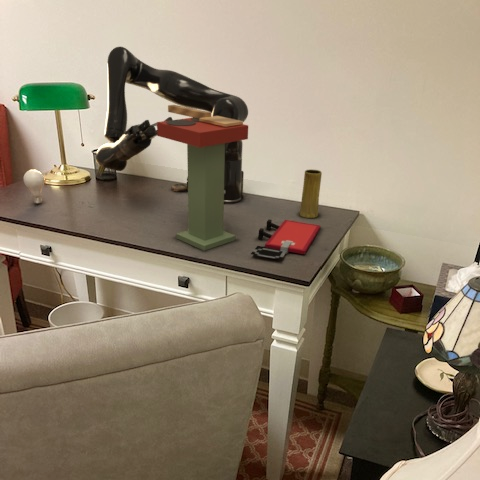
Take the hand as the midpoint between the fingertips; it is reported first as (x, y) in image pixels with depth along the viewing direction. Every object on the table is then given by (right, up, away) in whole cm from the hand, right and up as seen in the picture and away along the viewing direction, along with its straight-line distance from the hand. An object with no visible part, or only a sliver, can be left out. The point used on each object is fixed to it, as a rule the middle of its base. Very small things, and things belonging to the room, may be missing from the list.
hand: (160, 121), depth 156 cm
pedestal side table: (+13, -34, -3) cm, 37 cm away
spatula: (+13, -4, -13) cm, 18 cm away
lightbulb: (-43, -21, +17) cm, 50 cm away
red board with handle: (+36, -37, -5) cm, 52 cm away
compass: (+2, -12, +34) cm, 37 cm away
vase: (+46, -25, +16) cm, 55 cm away
